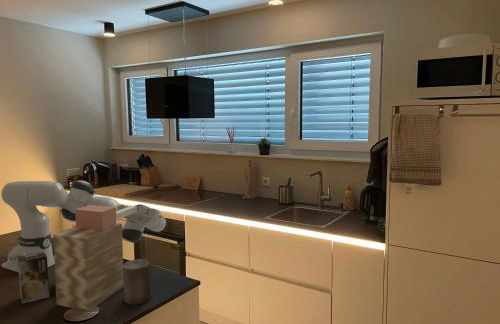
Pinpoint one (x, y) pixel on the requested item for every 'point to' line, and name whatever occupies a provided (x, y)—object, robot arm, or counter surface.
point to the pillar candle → (137, 281)
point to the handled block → (100, 216)
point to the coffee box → (33, 277)
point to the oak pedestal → (88, 266)
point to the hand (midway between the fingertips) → (129, 207)
